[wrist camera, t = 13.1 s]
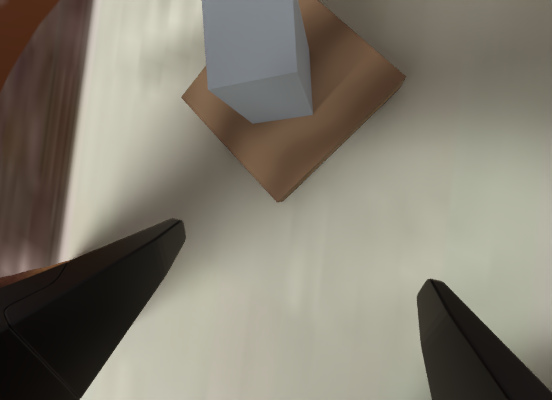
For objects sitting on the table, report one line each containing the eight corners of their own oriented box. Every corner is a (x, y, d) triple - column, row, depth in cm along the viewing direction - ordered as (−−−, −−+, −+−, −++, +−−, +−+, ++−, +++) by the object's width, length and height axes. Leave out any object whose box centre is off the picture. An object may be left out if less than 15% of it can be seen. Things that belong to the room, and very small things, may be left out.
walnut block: (399, 88, 19) (405, 76, 17) (282, 201, 22) (277, 202, 20) (287, -10, 21) (282, -31, 19) (194, 105, 24) (181, 97, 22)
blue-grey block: (312, 115, 19) (297, 71, 12) (252, 123, 20) (207, 89, 13) (309, 50, 19) (291, -31, 12) (249, 63, 20) (201, -3, 13)
